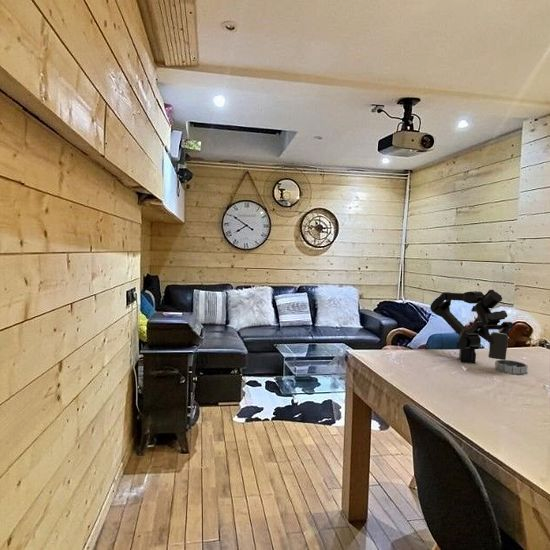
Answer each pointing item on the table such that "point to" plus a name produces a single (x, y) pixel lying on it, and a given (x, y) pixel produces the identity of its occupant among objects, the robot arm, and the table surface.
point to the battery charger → (498, 346)
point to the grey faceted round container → (511, 367)
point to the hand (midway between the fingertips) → (500, 344)
